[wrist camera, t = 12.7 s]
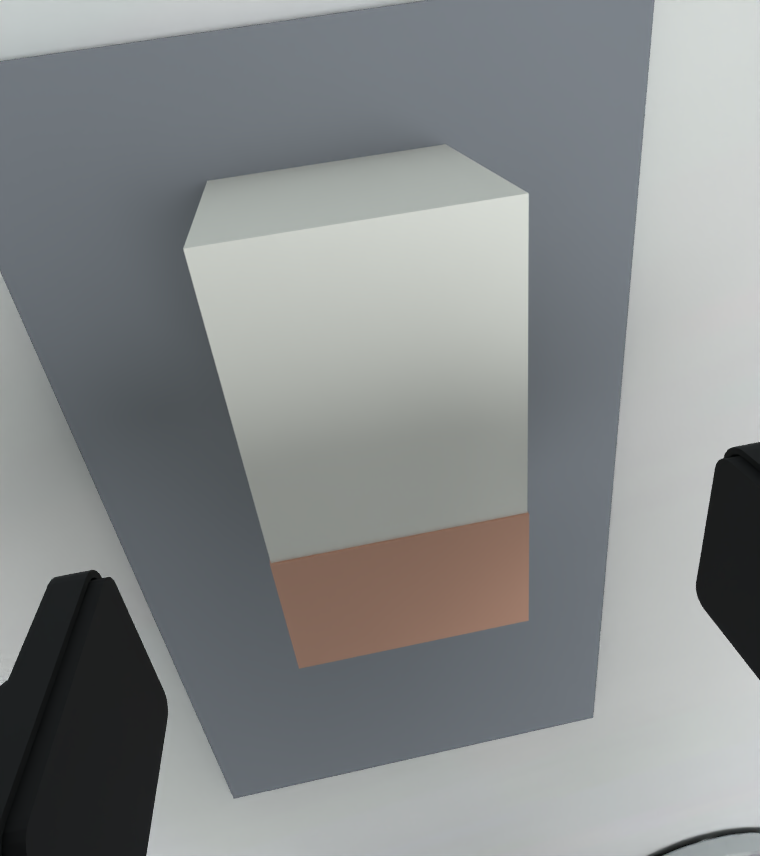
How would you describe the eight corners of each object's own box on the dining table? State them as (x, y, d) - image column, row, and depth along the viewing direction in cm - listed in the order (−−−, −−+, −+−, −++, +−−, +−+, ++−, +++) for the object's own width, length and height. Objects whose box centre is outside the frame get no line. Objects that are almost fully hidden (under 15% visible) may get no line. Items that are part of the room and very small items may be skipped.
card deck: (446, 144, 14) (531, 193, 9) (466, 484, 18) (529, 620, 14) (206, 181, 13) (181, 250, 9) (289, 518, 18) (299, 668, 14)
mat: (588, 708, 26) (593, 717, 25) (234, 788, 25) (233, 798, 24) (646, -31, 13) (657, -33, 13) (-78, 73, 12) (-87, 74, 12)
